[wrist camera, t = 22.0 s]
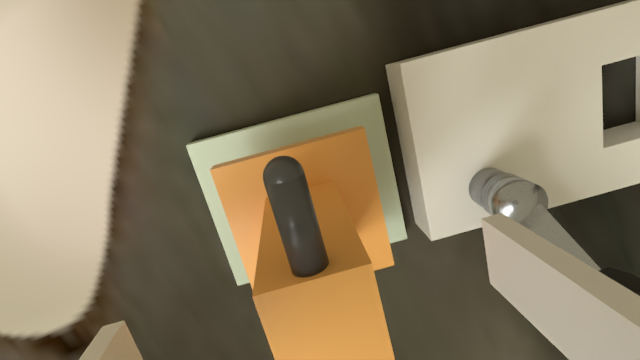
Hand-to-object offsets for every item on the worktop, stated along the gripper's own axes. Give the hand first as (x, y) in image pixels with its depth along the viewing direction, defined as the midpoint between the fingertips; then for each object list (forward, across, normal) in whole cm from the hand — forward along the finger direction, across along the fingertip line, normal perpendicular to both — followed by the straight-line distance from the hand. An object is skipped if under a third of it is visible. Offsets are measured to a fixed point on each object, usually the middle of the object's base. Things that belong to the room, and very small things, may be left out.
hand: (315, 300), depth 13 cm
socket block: (+12, +19, +1) cm, 23 cm away
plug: (+11, 0, 0) cm, 11 cm away
